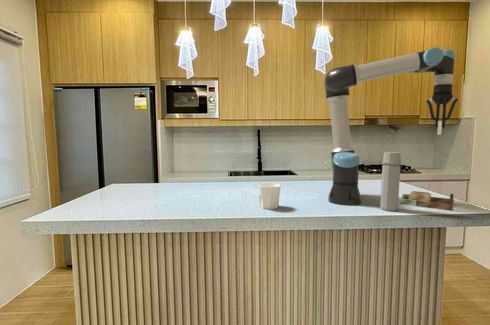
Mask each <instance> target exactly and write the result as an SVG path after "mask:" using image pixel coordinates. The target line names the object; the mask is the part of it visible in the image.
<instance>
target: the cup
mask: <svg viewBox="0 0 490 325" xmlns="http://www.w3.org/2000/svg"><path fill="white" fill-rule="evenodd" d="M257 188H258V189H257V191H258V204H259V207H260V208H261V209H266V210H273V209H278V208H279V206H280V204H279V202H280V194H281V184H279V183H272V182H268V183H267V182H266V183H258V184H257Z"/></svg>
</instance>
